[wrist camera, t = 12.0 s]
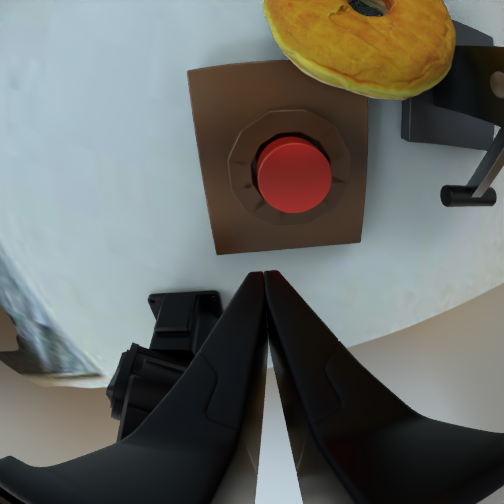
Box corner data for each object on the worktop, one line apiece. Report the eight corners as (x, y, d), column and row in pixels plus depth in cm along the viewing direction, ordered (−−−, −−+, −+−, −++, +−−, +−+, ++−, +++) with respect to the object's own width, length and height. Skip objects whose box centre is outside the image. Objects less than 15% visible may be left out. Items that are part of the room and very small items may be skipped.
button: (323, 197, 16) (331, 211, 14) (259, 202, 16) (260, 216, 14) (322, 134, 14) (332, 141, 12) (253, 138, 14) (254, 145, 12)
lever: (480, 189, 16) (492, 215, 15) (434, 188, 16) (448, 217, 15) (542, 78, 6) (567, 105, 5) (497, 53, 7) (528, 79, 5)
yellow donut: (280, -77, 7) (284, -42, 11) (237, 48, 9) (250, 79, 13) (454, -27, 6) (434, 0, 10) (469, 117, 8) (434, 130, 12)
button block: (351, 227, 21) (369, 257, 17) (219, 238, 21) (213, 272, 18) (353, 64, 14) (380, 61, 11) (193, 72, 15) (178, 69, 11)
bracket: (483, 147, 16) (567, 198, 8) (400, 138, 17) (495, 193, 9) (483, 37, 11) (575, 49, 3) (394, 6, 11) (492, -20, 3)
